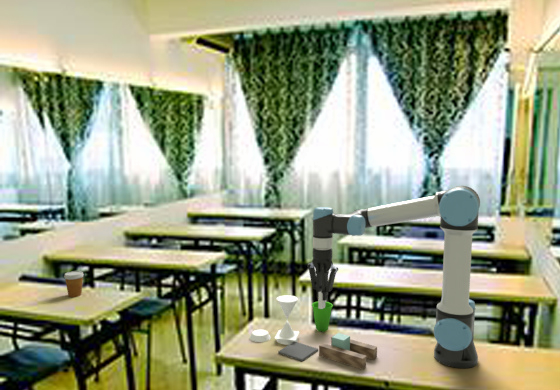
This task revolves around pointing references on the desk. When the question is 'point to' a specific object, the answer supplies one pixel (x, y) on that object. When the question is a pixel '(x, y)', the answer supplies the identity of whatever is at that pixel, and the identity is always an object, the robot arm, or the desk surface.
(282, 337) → the hourglass
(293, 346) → the rubber mat
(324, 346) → the parallel wooden bars
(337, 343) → the teal block
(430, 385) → the desk surface
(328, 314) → the cup
